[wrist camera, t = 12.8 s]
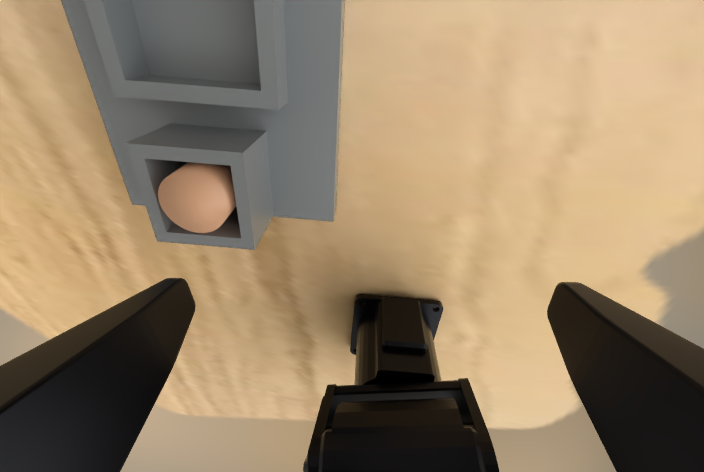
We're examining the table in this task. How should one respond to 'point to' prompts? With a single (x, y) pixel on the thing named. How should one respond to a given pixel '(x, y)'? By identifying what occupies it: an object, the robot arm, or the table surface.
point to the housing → (220, 102)
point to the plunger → (198, 196)
